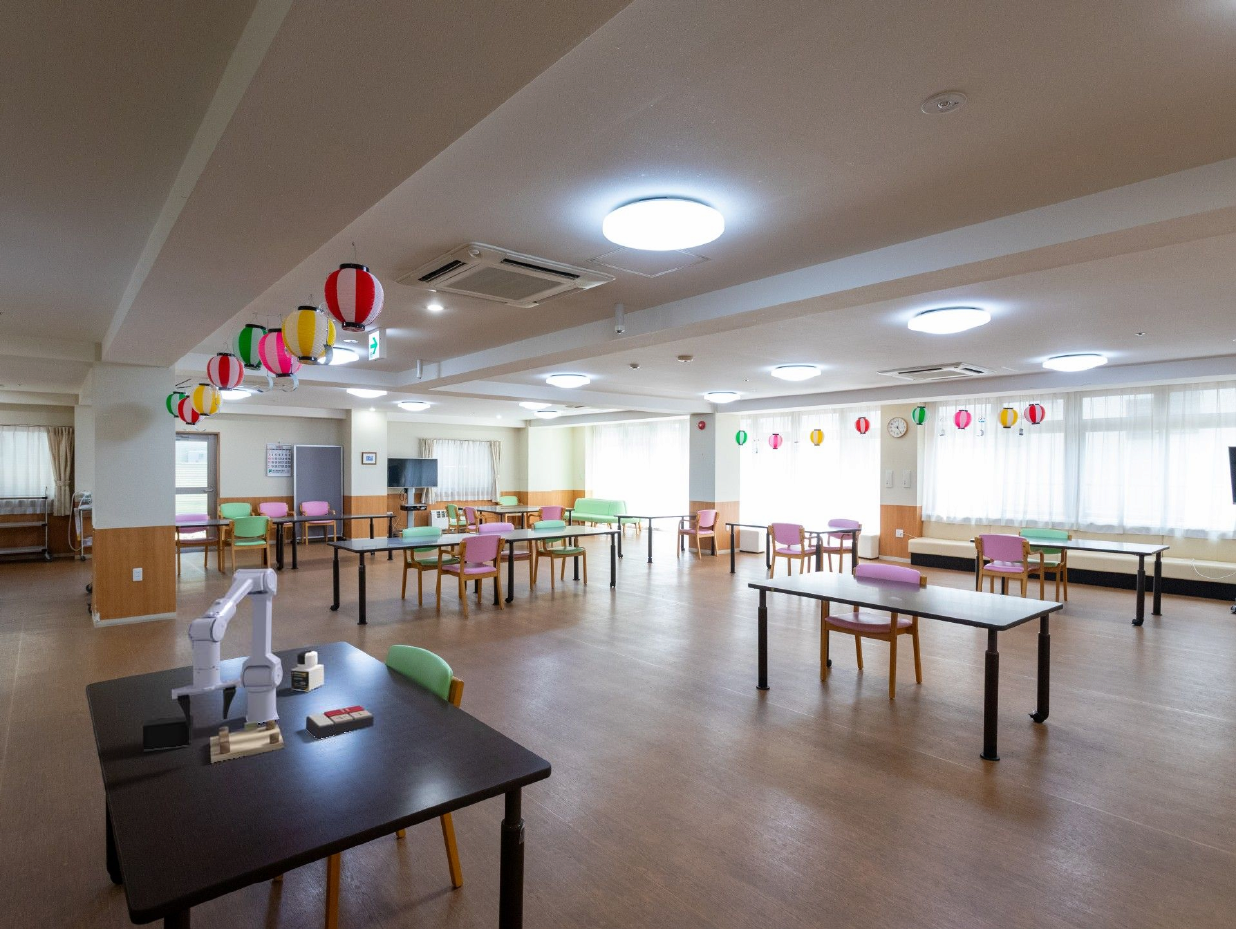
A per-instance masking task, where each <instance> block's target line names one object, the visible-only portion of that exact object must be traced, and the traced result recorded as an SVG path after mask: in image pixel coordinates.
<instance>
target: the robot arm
mask: <svg viewBox="0 0 1236 929" xmlns="http://www.w3.org/2000/svg"><path fill="white" fill-rule="evenodd" d="M277 582H278V576H277V573H276V572H275V570H274V569H273V568H270V567H269V568H258V569H257V568H252V569H250V568H249V569H247V568H246V569H245V568H243V569H242V568H239V569H237V570H236V571H235V572H234V573H233V575H232V578H231V586H230V588H229V589H228V591H226V593H225V595H224V596H223V597H222V598H218V599H216V600H215V601H214V602H213V603H212V604H211V606H210V607H209V608H208V609H207V610H206V612H205V613H203V615H202V616H201V617H200V618H197V619H194V620H193V621H191V623H190V624H189V626H188V630H187V640H189V642H190V644H189V645H190V649H191V650H193V651H192V659H193V660H192V662H193V665H192V668H193V670H192V671H193V673H192V674H193V676H192V678H193V683H192V684H191V685H186V686H182V687H178V688H173V689H171V698H172V700H175V699H177V702H178V704H179V706H180V708H181V709H182V712H183V713H184V716H185V717H186V721H187V727H189V726H191V719H190V716H191V698H190V696H193V695H199V694H205V693H206V694H207V693H213V692H217V691H218V692H219V691H222V697H223V704H222V719H223V720H227V719H228V714H229V710H230V706H231V704H232V702H233V700H234V697H235V696H236V693H237V689H238V688H241V687H242V688H244V691H245V692H247V713H246V714H247V715H246V714H245V716H246V717H245V716H244V717H245V720H246V721H247V722H246V723H249V722H254V721H257V723H260V724H264V723H263V722H265V723H266V721H269V720H276V721H279V720H280V718H279V717H280V716H279V715H278V712H277V690H276V689H277V687H278V686H279V685H280V684H281V683H282V680H283V675H284V674H283V673H284V672H283V671H284V670H283V667H282V660H281V658H279V657H278V656H276V655H275V654H273V653H272V619H273V618H272V617H273V616H272V615H273V614H272V613H273V597H274V596H276V595H277V590H278V586H277V585H278V583H277ZM245 597H248V598H249V599H250V600H251V601H252V612H251V613H252V614H251V615H252V616H251V617H252V618H251V650H250V652H251V655H250V656H249V657H248V658H246V660H244V661H243V662H242V666H241V672H240V675H239V677H238V678H230V679H221V641H222V639H223V638H224V636H225V633H226V630H227V628H228V623H229V621H230V620H231V619H232V618H233V616H234V615H235V614H236V612H237V605H238V604H239V603H240V602H241V600H242V599H243V598H245ZM278 719H279V720H278Z"/></svg>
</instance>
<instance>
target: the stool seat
mask: <svg viewBox="0 0 1236 929" xmlns="http://www.w3.org/2000/svg"><path fill="white" fill-rule="evenodd" d="M258 725H259V724H258V723H257V721H254V722H249V723H247V722H244V730H242V731H236V732H231V733H228V734H229V743H223V744H221V745H220V742H219V735H216V736H211V737H210V738H209V739H210V740H209V743H210V744H209V745H210V747H211V748H210V763H212V764H215V763H214V762H217V761H221V762H224V761H223V760H226V761H228V760H227V759H231V760H234V759H233V758H235V759H239V757H240V758H243V756H245V757H249V756H254V755H258V754H259V755H260V754H262V753H263V752H264V753H268V752H272V750H273V751H278V750H283V749H284V748H285V747H284V743H285V742H284V740H283V736H282V733H281V730H280V728H279V724H277V723H276V721H275V720H269V721H266V722H265V726H262V727H258ZM282 748H283V749H282ZM217 763H218V762H217Z"/></svg>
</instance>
